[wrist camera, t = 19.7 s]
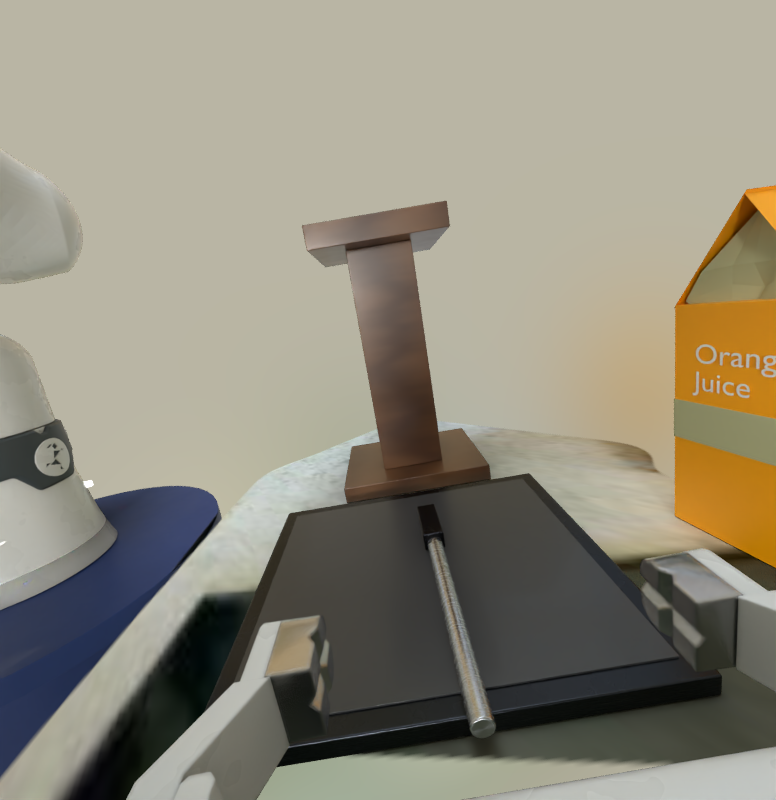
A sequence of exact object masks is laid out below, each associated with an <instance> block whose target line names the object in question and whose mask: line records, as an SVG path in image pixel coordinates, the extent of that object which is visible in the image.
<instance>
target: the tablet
mask: <svg viewBox="0 0 776 800" xmlns="http://www.w3.org/2000/svg"><path fill="white" fill-rule="evenodd" d="M429 504H435V507H436V510H437V513H438V516H439V519H440V523H441V526H442V529H443V532H444V539H445V547H444V550H445V553H446V557H447V560H448V563H449V567H450V570H451V574H452V577H453V580H454V584H455V587H456V591H457V594H458V597H459V601H460V604H461V607H462V611H463V614H464V618H465V621H466V624H467V628H468V631H469V635H470V638H471V641H472V645H473V648H474V652H475V655H476V658H477V662H478V665H479V669H480V672H481V675H482V679H483V682H484V686H485V689H486V692H487V696H488V699H489V703H490V706H491V709H492V713H493V716H494V719H495V723H496V729H495V731H500V730H506V729H512V728H518V727H524V726H531V725H537V724H543V723H549V722H555V721H561V720H567V719H573V718H579V717H585V716H592V715H598V714H604V713H610V712H616V711H622V710H628V709H634V708H640V707H646V706H653V705H659V704H665V703H671V702H677V701H683V700H689V699H695V698H701V697H707V696H714V695H720V694H721V687H722V676H721V674H720V673H719V672H718V671H717V670H708V671H701V672H696V671H695V670H694V669H693V668H692V667H691V665H690V664H689V663H688V662H687V661H686V660H685V659H684V658H683V657H682V656H681V654H680V653H679V652H678V651H677V650H676V649H675V648H674V647H673V637H671V636H669V635H667V634H664V633H662V632H660V631H659V630H658V629H657V628H656V627H655V625H654V624H653V623H652V622H651V620H650V619H649V617H648V616H647V614H646V612H645V609H644V607H643V604H642V601H641V590H640V589H639V588H638V587H637V586H636V585H635V584H634V583H633V582H632V581H631V580H630V579H629V578H628V577H627V575H626V574H625V573H624V572H623V571H622V570H621V569H620V568H619V567H618V566H617V565H616V564H615V563H614V562H613V561H612V560H611V559H610V558H609V557H608V556H607V555H606V553H605V552H604V551H603V550H602V549H601V548H600V547H599V546H598V545H597V544H596V543H595V542H594V541H593V540H592V539H591V538H590V537H589V536H588V535H587V534H586V533H585V531H584V530H583V529H582V528H581V527H580V526H579V525H578V524H577V523H576V522H575V521H574V520H573V519H572V518H571V517H570V516H569V515H568V514H567V513H566V512H565V511H564V509H563V508H562V507H561V506H560V505H559V504H558V503H557V502H556V501H555V500H554V499H553V498H552V497H551V496H550V495H549V494H548V493H547V492H546V491H545V490H544V489H543V487H542V486H541V485H540V484H539V483H538V482H537V481H536V480H535V479H534V478H533V477H532V476H531V475H530V474H529V473H528V474H522V475H516V476H510V477H504V478H498V479H492V480H486V481H480V482H474V483H468V484H462V485H456V486H450V487H444V488H439V489H433V490H427V491H421V492H415V493H409V494H403V495H397V496H391V497H385V498H379V499H373V500H367V501H361V502H355V503H349V504H343V505H337V506H331V507H325V508H319V509H313V510H307V511H301V512H295V513H290V514H289V515H288V518H287V520H286V522H285V525H284V527H283V529H282V532H281V534H280V536H279V539H278V541H277V543H276V546H275V548H274V550H273V553H272V555H271V557H270V560H269V562H268V564H267V567H266V569H265V571H264V574H263V576H262V578H261V581H260V583H259V585H258V588H257V590H256V592H255V595H254V597H253V599H252V602H251V604H250V606H249V609H248V611H247V613H246V616H245V618H244V620H243V623H242V625H241V627H240V630H239V632H238V634H237V637H236V639H235V641H234V644H233V646H232V648H231V651H230V653H229V655H228V658H227V660H226V662H225V665H224V667H223V669H222V672H221V674H220V676H219V679H218V681H217V683H216V686H215V688H214V690H213V693H212V695H211V697H210V700H209V702H208V705H207V707H206V709H205V711H206V710H207V709H208V708H209V707H210V706H211V705H212V704H213V703H214V702H215V701H216V700H217V699H218V698H219V697H220V696H221V695H222V694H223V693H224V692H225V691H226V690H227V689H228V688H229V687H230V686H231V685H232V684H233V683H236V682H240V680H241V677H242V674H243V672H244V669H245V666H246V664H247V661H248V658H249V655H250V653H251V650H252V647H253V645H254V642H255V639H256V637H257V634H258V631H259V629H260V627H261V626H262V625H263V624H264V623H270V622H277V621H283V620H288V619H295V618H302V617H308V616H315V615H322V616H323V617H324V620H325V624H326V635H325V639H326V640H328V641H329V642H330V644H331V648H332V654H333V665H334V677H333V687H332V688H331V690H330V691H329V692H328V697H329V702H330V713H329V721H328V730H327V735H325V736H320V737H315V738H310V739H306V740H301V741H296V742H291V743H289V745H290V746H289V747H288V749H287V751H286V752H285V754H284V755H283V757H282V759H281V760H280V762H279V764H278V765H277V767H280V766H286V765H292V764H298V763H305V762H311V761H317V760H323V759H329V758H335V757H341V756H348V755H354V754H360V753H366V752H372V751H378V750H384V749H390V748H396V747H402V746H409V745H415V744H421V743H427V742H433V741H439V740H445V739H451V738H457V737H463V736H470V735H472V733H471V732H470V729H469V724H468V720H467V716H466V711H465V707H464V702H463V698H462V694H461V689H460V685H459V680H458V676H457V672H456V667H455V663H454V659H453V654H452V650H451V645H450V641H449V637H448V632H447V628H446V623H445V619H444V615H443V610H442V606H441V602H440V597H439V593H438V588H437V584H436V580H435V575H434V571H433V566H432V562H431V558H430V553H429V550H425V546H424V541H423V537H422V532H421V527H420V523H419V517H418V511H417V507H418V506H423V505H429Z"/></svg>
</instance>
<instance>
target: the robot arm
mask: <svg viewBox="0 0 776 800" xmlns="http://www.w3.org/2000/svg"><path fill="white" fill-rule="evenodd" d="M82 242H83V241H82V229H81V224H80V221H79V218H78V215H77V213H76V212H75V209H74V208H73V206H72V204H71V203H70V201H69V200H68V198H67V197H66V196H65V195H64V193H63V192H62V191H61V190H60V189H59V188H58V187H57V186H56V185H55V184H54V183H53V182H52V181H51V180H49V179H48V178H47V177H46V176H44V175H43V174H42V173H40V172H39V171H37V170H35V169H33V168H31V167H29V166H27V165H25V164H24V163H22V162H20V161H19V160H17V159H15V158H14V157H12V156H11V155H9V154H8V153H7V152H5V151H4V150H3V149H1V148H0V284H11V283H19V282H25V281H30V280H34V279H39V278H44V277H48V276H53V275H57V274H60V273H65V272H68V271H70V269H71V268H72V267H73V266H74V265H75V263H76V262H77V260H78V257H79V256H80V253H81V249H82ZM91 486H93V482H92V481H86V482H83V480H82V478H81V476H80V475H79V473H78V472H77V470H76V468H75V466H74V462H73V455H72V447H71V444H70V442H69V439H68V436H67V432H66V430H65V429H64V427H63V425H62V422H61V421H60V420H58V419H55V418H54V415H53V412H52V410H51V407H50V404H49V402H48V399H47V397H46V394H45V391H44V388H43V385H42V383H41V380H40V378H39V375H38V372H37V370H36V367H35V364H34V361H33V359H32V357H31V355H30V354H29V353H28V352H27V350H26V349H25V348H24V347H23V346H21V345H20V344H19V343H17V342H16V341H14V340H12V339H10V338H8V337H6V336H3V335H1V334H0V610H2V609H5V608H7V607H9V606H12V605H14V604H16V603H19V602H21V601H24V600H26V599H28V598H30V597H33V596H35V595H37V594H39V593H41V592H43V591H45V590H47V589H49V588H51V587H53V586H55V585H57V584H59V583H60V582H62V581H64V580H66V579H68V578H69V577H71V576H73V575H74V574H76V573H78V572H79V571H81V570H82V569H84V568H85V567H87V566H88V565H90V564H91V563H92V562H94V561H95V560H96V559H98V558H99V557H100V556H101V555H103V554H104V553H105V552H106V551H107V550H108V549H109V548H110V547H111V546H112V545H113V543H114V542H115V540H116V538H117V535H118V532H117V530H116V529H115V528H114V527H113V526H112V525H111V523H110V522H109V521H108V520H107V519H106V517H105V516H104V514H103V513H102V512H101V510H100V509H99V507H98V506H97V504H96V502H95V501H94V499H93V497H92V496H91V494H90V492H89V490H88V489H87V487H91ZM640 574H641V575H642V576H643V577H644V578H645V579H646V582H645V583H644V585H643V586H642V588H641V601H642V604H643V607H644V609H645V612H646V614H647V616H648V617H649V619H650V620H651V622H652V623H653V624H654V625H655V627H656V628H657V629H658V630H659V631H660V632H662V633H664V634H667V635H669V636H671V637H673V647H674V648H675V649H676V650H677V651H678V652H679V653H680V654H681V656H682V657H683V658H684V659H685V660H686V661H687V662H688V663H689V664H690V665H691V667H692V668H693V669H694V670H695V671H696V672H701V671H708V670H716V669H723V668H730V667H736V669H737V670H739V671H740V672H742V673H744V674H746V675H747V676H749V677H751V678H752V679H754V680H756V681H758V682H759V683H761V684H763V685H764V686H766V687H768V688H770V689H771V690H773V691H775V692H776V590H774V591H767V590H766V589H764V588H763V587H761V586H760V585H759V584H757V583H756V582H754V581H753V580H751V579H750V578H749V577H747V576H746V575H744V574H743V573H741V572H740V571H738V570H737V569H736V568H734V567H733V566H731V565H730V564H728V563H727V562H726V561H724V560H723V559H721V558H720V557H718V556H717V555H716V554H714V553H713V552H711V551H710V550H707V549H704V548H700V549H695V550H689V551H684V552H682V553H676V554H671V555H665V556H659V557H654V558H648V559H643V560H642V562H641V564H640ZM325 635H326V624H325V620H324V617H323V616H322V615H315V616H308V617H302V618H295V619H288V620H283V621H277V622H270V623H264V624H263V625H262V626H261V627H260V629H259V631H258V634H257V637H256V639H255V642H254V645H253V647H252V650H251V653H250V655H249V658H248V661H247V664H246V666H245V669H244V672H243V674H242V677H241V680H240V682H236V683H233V684H232V685H231V686H230V687H229V688H228V689H227V690H226V691H225V692H224V693H223V694H222V695H221V696H220V697H219V698H218V699H217V700H216V701H215V702H214V703H213V704H212V705H211V706H210V707H209V708H208V709H207V710H206V711H205V712H204V713H203V714H202V715H201V716H200V717H199V718H198V719H197V720H196V721H195V722H194V723H193V724H192V725H191V726H190V727H189V728H188V729H187V730H186V731H185V732H184V733H183V734H182V735H181V737H180V738H179V739H178V740H177V741H176V742H175V743H174V744H173V745H172V746H171V747H170V748H169V749H168V750H167V751H166V752H165V753H164V754H163V755H162V756H161V757H160V758H159V759H158V760H157V761H156V762H155V763H154V764H153V765H152V766H151V767H150V768H149V769H148V770H147V771H146V772H145V773H144V774H143V775H142V776H141V777H140V778H139V779H138V780H137V781H136V782H135V783H134V785H133V787H132V789H131V791H130V793H129V795H128V797H127V799H126V800H256V799H257V798H258V796H259V795H260V793H261V791H262V790H263V788H264V786H265V784H266V783H267V781H268V780H269V778H270V777H271V775H272V773H273V772H274V770H275V768H276V767H277V765H278V764H279V762H280V760H281V759H282V757H283V755H284V754H285V752H286V751H287V749H288V747H289V746H290V745H289V743H291V742H296V741H301V740H306V739H310V738H315V737H320V736H325V735H327V730H328V721H329V713H330V702H329V697H328V692H329V691H330V690H331V688H332V687H333V677H334V665H333V654H332V648H331V644H330V642H329V641H328V640H326V639H325ZM463 800H776V747H770V748H764V749H758V750H752V751H746V752H740V753H735V754H729V755H723V756H717V757H711V758H705V759H699V760H693V761H688V762H682V763H676V764H670V765H664V766H658V767H652V768H647V769H641V770H635V771H629V772H623V773H617V774H611V775H605V776H599V777H594V778H587V779H582V780H576V781H570V782H564V783H558V784H552V785H546V786H540V787H534V788H529V789H523V790H517V791H511V792H505V793H499V794H493V795H487V796H481V797H475V798H470V799H463Z"/></svg>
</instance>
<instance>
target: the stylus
mask: <svg viewBox="0 0 776 800" xmlns="http://www.w3.org/2000/svg"><path fill="white" fill-rule="evenodd" d="M417 511H418V517H419V523H420V527H421V532H422V537H423V541H424V546H425V550H429V553H430V558H431V562H432V566H433V571H434V575H435V580H436V584H437V588H438V593H439V597H440V602H441V606H442V610H443V615H444V619H445V623H446V628H447V632H448V637H449V641H450V645H451V650H452V654H453V659H454V663H455V667H456V672H457V676H458V680H459V685H460V689H461V694H462V698H463V702H464V707H465V711H466V716H467V720H468V724H469V729H470V732H471V733H472V735H473V736H475V737H477V738H487V737H490V736H491V735H492V734H493V733H494V732H495V729H496V723H495V719H494V716H493V713H492V709H491V706H490V703H489V699H488V696H487V692H486V689H485V686H484V682H483V679H482V675H481V672H480V669H479V665H478V662H477V658H476V655H475V652H474V648H473V645H472V641H471V638H470V635H469V631H468V628H467V624H466V621H465V618H464V614H463V611H462V607H461V604H460V601H459V597H458V594H457V591H456V587H455V584H454V580H453V577H452V574H451V570H450V567H449V563H448V560H447V557H446V553H445V550H444V547H445V539H444V532H443V529H442V526H441V523H440V519H439V516H438V513H437V510H436V507H435V504H429V505H423V506H418V507H417Z"/></svg>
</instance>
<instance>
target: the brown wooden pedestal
mask: <svg viewBox="0 0 776 800" xmlns="http://www.w3.org/2000/svg"><path fill="white" fill-rule="evenodd" d="M449 226H450V224H449V216H448V208H447V201H442V202H435V203H430V204H424V205H418V206H412V207H407V208H401V209H395V210H389V211H383V212H378V213H372V214H366V215H360V216H354V217H349V218H342V219H337V220H331V221H325V222H319V223H313V224H308V225H303V226H302V228H303V233H304V238H305V243H306V248H307V251H308V252H309V253H310V254H311V255H313V256H314V257H315V258H316V259H317V260H318V261H319V262H320V263H321V264H323V265H324V266H325V267H329V266H335V265H341V264H347V263H348V267H349V273H350V279H351V284H352V290H353V295H354V301H355V307H356V312H357V317H358V323H359V329H360V334H361V340H362V346H363V351H364V356H365V362H366V367H367V373H368V379H369V384H370V390H371V396H372V401H373V407H374V412H375V418H376V423H377V429H378V434H379V440H380V442H377V443H371V444H365V445H359V446H353V447H352V449H351V454H350V460H349V466H348V471H347V477H346V483H345V489H344V490H345V495H346V500H347V503H350V502H356V501H362V500H368V499H374V498H380V497H386V496H392V495H398V494H404V493H410V492H416V491H422V490H428V489H434V488H440V487H446V486H452V485H458V484H464V483H470V482H476V481H481V480H487V479H491V476H490V468H489V464H488V463H487V461H486V460H485V459H484V457H483V456H482V455H481V453H480V452H479V451H478V449H477V448H476V447H475V445H474V444H473V443H472V441H471V440H470V439H469V437H468V436H467V435H466V433H465V432H464V431H463V429H462V428H460V429H454V430H448V431H442V432H438V426H437V419H436V412H435V405H434V398H433V391H432V385H431V377H430V370H429V363H428V356H427V349H426V342H425V335H424V328H423V321H422V314H421V307H420V300H419V293H418V286H417V279H416V272H415V265H414V258H413V252H417V251H423V250H428V249H430V248H431V247H432V246H433V245H434V244H435V243H436V241H437V240H438V239H439V238H440V237H441V236H442V234H443V233H444V232H445V231H446V230H447V228H448V227H449Z"/></svg>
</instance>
